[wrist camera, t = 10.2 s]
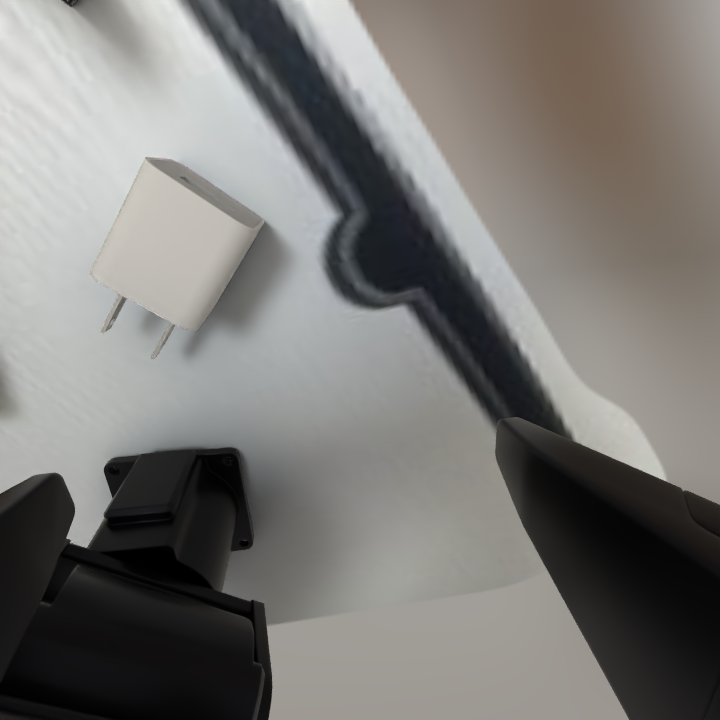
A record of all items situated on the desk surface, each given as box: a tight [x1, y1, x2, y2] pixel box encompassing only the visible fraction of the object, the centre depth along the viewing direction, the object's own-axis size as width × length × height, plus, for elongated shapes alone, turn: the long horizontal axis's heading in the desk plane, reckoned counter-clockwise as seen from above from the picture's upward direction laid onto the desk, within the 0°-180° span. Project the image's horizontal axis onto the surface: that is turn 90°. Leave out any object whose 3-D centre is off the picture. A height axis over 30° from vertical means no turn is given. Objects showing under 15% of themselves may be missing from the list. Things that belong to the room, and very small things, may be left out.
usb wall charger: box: [90, 157, 264, 359], centre depth 17 cm, size 4×7×4 cm, turn 145°
